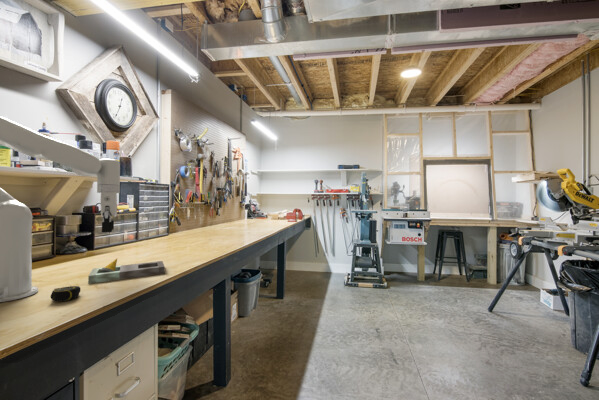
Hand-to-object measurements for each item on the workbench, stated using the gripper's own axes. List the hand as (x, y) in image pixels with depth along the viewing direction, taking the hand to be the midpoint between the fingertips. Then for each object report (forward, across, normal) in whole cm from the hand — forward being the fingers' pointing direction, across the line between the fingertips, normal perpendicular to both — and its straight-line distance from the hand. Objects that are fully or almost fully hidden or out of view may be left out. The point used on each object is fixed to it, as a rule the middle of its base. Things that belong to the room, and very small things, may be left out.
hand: (107, 230), depth 108 cm
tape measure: (+20, -21, +10) cm, 30 cm away
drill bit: (+19, +1, 0) cm, 19 cm away
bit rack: (+19, 0, -8) cm, 21 cm away
